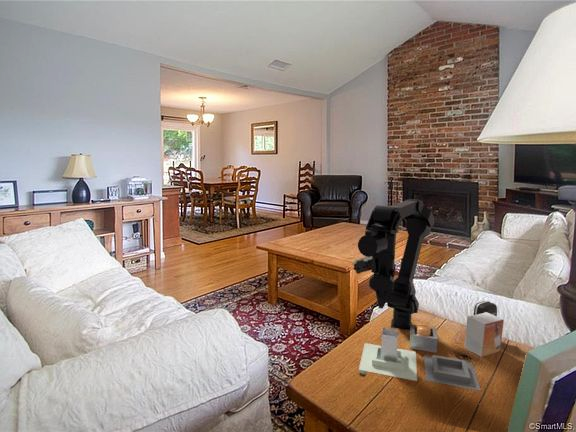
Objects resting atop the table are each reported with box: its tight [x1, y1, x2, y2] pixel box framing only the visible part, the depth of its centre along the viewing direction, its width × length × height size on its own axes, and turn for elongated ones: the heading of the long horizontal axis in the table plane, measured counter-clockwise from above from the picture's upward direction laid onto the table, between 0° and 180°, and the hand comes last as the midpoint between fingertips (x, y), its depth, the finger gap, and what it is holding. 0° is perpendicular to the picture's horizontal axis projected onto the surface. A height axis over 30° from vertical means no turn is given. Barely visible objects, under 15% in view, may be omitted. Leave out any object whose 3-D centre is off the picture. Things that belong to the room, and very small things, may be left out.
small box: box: [464, 312, 505, 358], centre depth 99 cm, size 8×6×10 cm
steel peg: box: [380, 327, 399, 362], centre depth 93 cm, size 4×4×8 cm
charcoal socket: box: [423, 354, 482, 392], centre depth 89 cm, size 12×12×2 cm
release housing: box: [409, 323, 439, 354], centre depth 102 cm, size 7×7×5 cm
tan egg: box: [417, 324, 431, 336], centre depth 102 cm, size 4×4×5 cm
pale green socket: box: [358, 342, 418, 382], centre depth 94 cm, size 14×14×2 cm
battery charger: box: [472, 300, 498, 317], centre depth 107 cm, size 7×4×11 cm, turn 119°
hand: (381, 302), depth 102 cm, fingers open, 9 cm apart
